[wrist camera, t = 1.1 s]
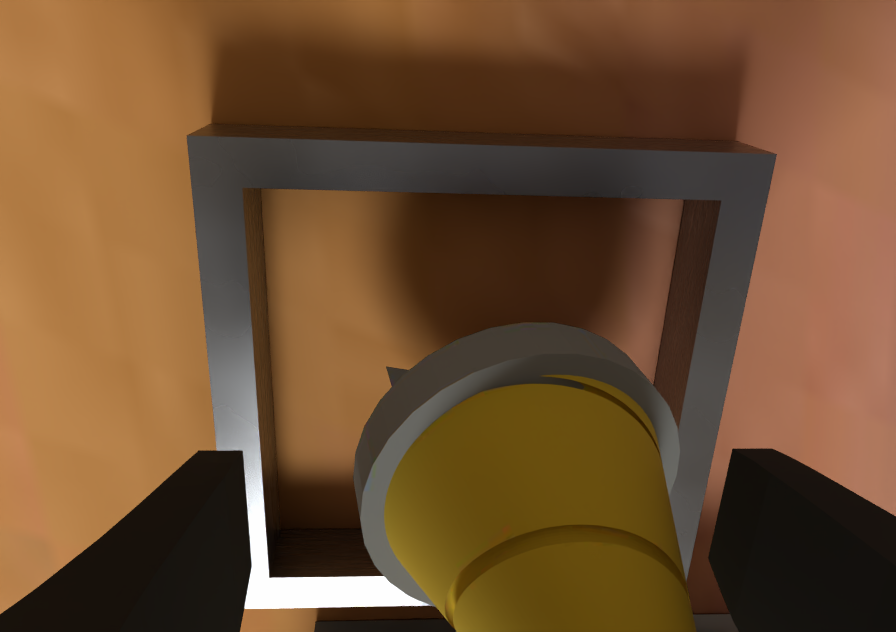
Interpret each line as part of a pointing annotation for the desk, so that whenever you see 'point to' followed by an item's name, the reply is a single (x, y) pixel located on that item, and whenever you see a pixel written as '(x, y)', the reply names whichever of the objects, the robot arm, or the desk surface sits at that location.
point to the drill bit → (526, 486)
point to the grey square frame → (465, 172)
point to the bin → (709, 628)
